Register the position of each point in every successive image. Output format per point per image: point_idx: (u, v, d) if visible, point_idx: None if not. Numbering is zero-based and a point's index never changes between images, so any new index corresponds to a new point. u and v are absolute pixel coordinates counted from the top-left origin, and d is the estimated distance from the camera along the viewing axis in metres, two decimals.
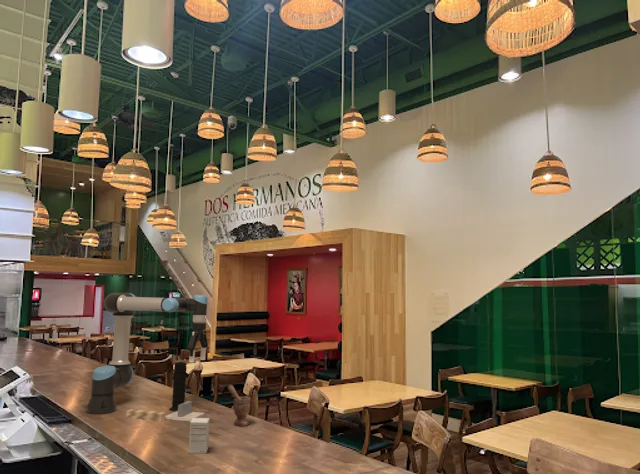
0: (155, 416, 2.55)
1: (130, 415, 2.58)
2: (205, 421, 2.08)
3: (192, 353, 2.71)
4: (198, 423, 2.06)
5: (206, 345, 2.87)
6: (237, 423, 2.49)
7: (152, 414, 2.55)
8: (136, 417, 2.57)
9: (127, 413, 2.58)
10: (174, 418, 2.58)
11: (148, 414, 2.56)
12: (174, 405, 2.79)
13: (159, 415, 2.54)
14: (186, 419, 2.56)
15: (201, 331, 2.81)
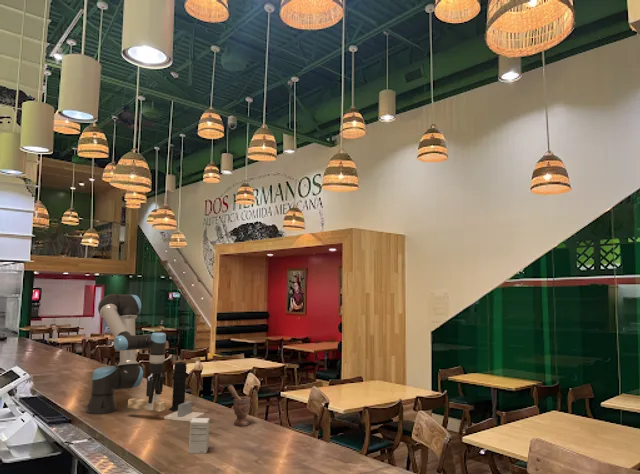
0: (155, 405, 2.56)
1: (131, 404, 2.60)
2: (205, 421, 2.08)
3: (151, 400, 2.55)
4: (198, 423, 2.06)
5: (160, 391, 2.63)
6: (237, 423, 2.49)
7: None
8: (137, 406, 2.59)
9: (129, 402, 2.61)
10: (174, 418, 2.58)
11: None
12: (174, 405, 2.79)
13: (159, 404, 2.55)
14: (186, 419, 2.56)
15: None
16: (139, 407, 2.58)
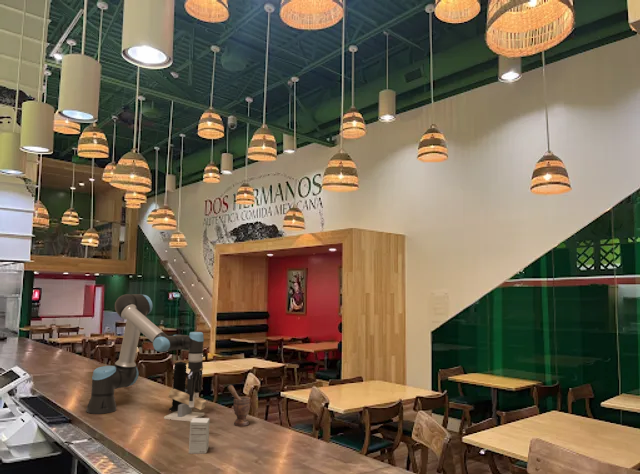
0: (197, 403, 2.61)
1: (173, 395, 2.65)
2: (205, 421, 2.08)
3: (192, 397, 2.61)
4: (198, 423, 2.06)
5: None
6: (237, 423, 2.49)
7: (194, 400, 2.62)
8: (178, 398, 2.64)
9: (170, 392, 2.65)
10: (174, 418, 2.58)
11: None
12: (174, 405, 2.79)
13: (201, 403, 2.61)
14: (186, 419, 2.56)
15: (198, 368, 2.67)
16: (180, 400, 2.64)
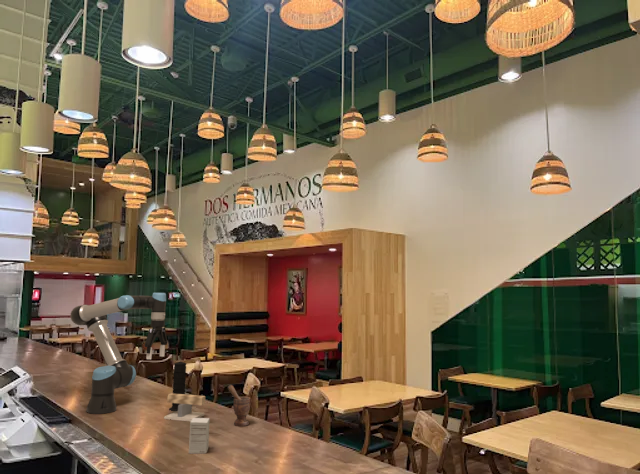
0: (196, 399, 2.62)
1: (171, 399, 2.65)
2: (205, 421, 2.08)
3: (149, 350, 2.73)
4: (198, 423, 2.06)
5: None
6: (237, 423, 2.49)
7: (193, 397, 2.62)
8: (177, 400, 2.64)
9: (168, 397, 2.65)
10: (174, 418, 2.58)
11: (189, 397, 2.63)
12: (174, 405, 2.79)
13: (200, 398, 2.61)
14: (186, 419, 2.56)
15: (160, 328, 2.83)
16: (179, 401, 2.64)
